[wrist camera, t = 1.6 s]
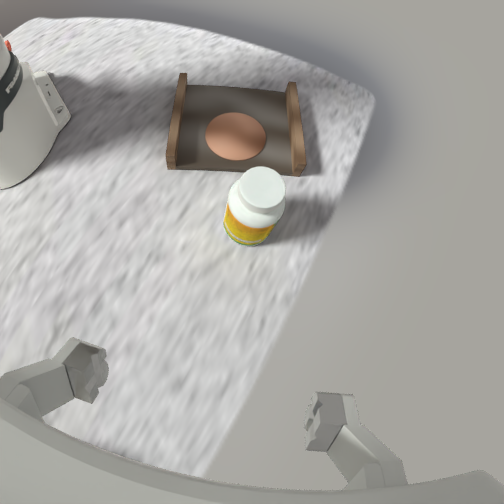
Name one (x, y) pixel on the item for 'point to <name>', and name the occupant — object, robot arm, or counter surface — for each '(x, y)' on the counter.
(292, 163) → the walled bay
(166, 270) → the counter surface
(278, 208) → the supplement bottle
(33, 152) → the robot arm
